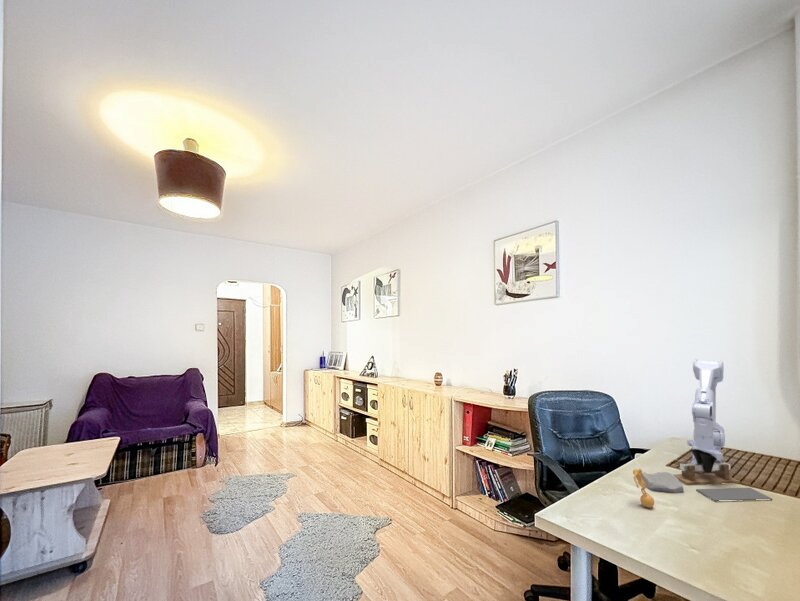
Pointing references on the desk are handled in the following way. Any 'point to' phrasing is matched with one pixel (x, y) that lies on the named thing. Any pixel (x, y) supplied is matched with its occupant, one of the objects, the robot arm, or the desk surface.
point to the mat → (732, 494)
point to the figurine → (645, 498)
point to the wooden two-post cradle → (705, 476)
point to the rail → (700, 466)
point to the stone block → (663, 482)
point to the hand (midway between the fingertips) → (705, 470)
